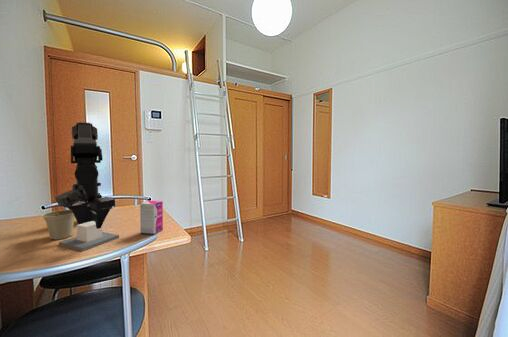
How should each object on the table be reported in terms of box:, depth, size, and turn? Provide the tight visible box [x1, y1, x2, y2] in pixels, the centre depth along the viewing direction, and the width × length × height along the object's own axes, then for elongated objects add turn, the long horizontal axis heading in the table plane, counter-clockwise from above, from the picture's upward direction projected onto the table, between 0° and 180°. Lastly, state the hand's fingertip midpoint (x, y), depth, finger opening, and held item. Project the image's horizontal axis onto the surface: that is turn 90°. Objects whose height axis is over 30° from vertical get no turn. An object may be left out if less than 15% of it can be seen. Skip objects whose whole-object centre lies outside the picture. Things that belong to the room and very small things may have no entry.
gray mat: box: [58, 231, 120, 252], centre depth 79 cm, size 12×12×1 cm
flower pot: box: [41, 209, 75, 241], centre depth 83 cm, size 9×9×9 cm
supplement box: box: [139, 200, 164, 236], centre depth 88 cm, size 6×6×12 cm
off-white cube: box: [76, 221, 103, 242], centre depth 79 cm, size 5×5×5 cm
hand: (89, 226), depth 78 cm, fingers open, 9 cm apart
